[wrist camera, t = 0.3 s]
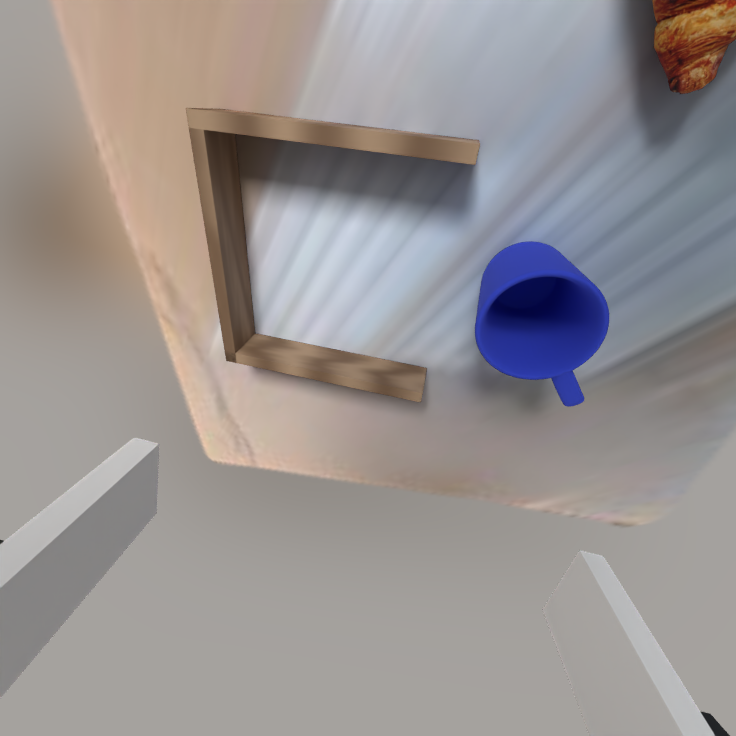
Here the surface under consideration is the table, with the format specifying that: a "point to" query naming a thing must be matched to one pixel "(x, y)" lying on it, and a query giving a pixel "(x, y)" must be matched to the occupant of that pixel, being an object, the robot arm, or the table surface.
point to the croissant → (692, 39)
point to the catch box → (229, 250)
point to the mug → (539, 317)
